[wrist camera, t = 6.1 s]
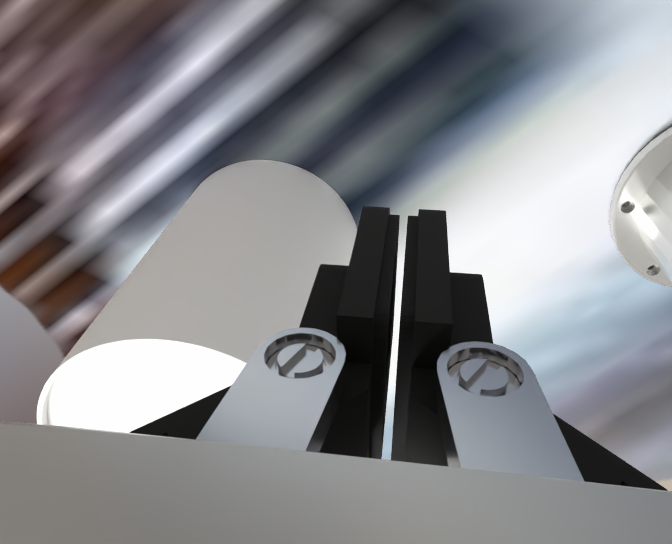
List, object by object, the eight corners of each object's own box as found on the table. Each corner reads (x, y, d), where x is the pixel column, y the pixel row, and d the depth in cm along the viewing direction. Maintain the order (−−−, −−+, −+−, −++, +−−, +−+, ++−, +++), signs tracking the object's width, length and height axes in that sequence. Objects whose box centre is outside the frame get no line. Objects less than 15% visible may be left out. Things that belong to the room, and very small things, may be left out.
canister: (303, 344, 48) (248, 577, 31) (155, 264, 45) (5, 472, 28) (395, 224, 41) (390, 437, 24) (228, 122, 38) (90, 282, 21)
